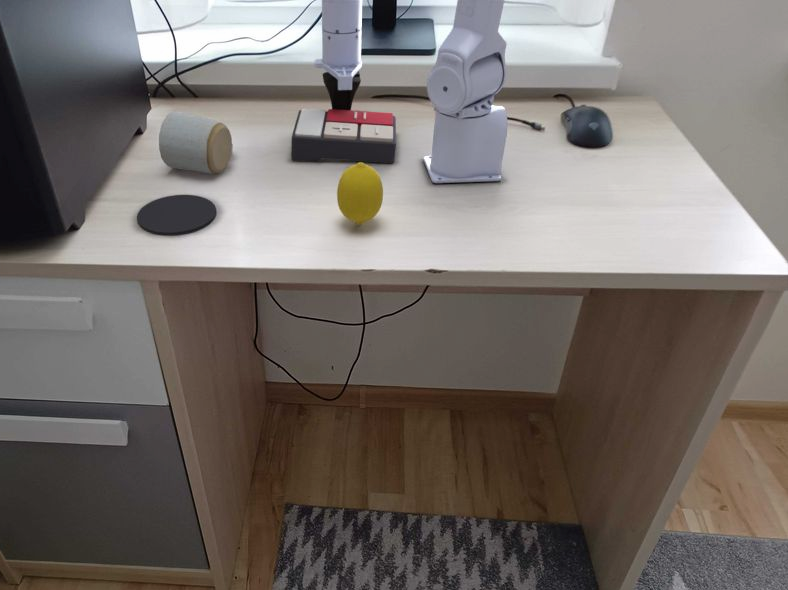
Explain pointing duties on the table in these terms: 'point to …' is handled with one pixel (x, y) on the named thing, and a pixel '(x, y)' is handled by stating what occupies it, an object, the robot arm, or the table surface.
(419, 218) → the table surface
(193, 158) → the ceramic mug
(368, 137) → the switch panel
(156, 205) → the felt coaster
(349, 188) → the lemon
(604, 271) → the table surface
